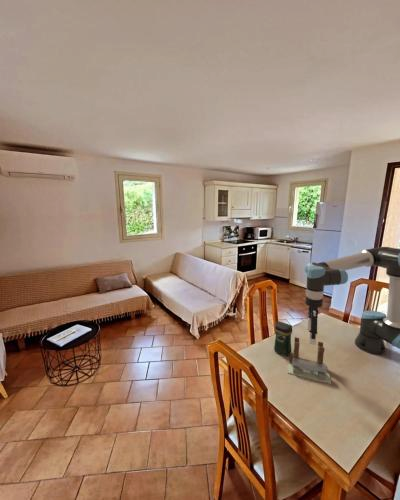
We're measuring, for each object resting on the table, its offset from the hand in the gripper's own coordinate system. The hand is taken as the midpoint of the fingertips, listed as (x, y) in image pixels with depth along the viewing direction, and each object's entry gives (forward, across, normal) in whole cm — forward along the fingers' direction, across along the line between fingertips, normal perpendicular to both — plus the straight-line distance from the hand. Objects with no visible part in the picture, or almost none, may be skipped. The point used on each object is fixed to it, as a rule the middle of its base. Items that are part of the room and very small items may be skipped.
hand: (311, 336), depth 113 cm
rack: (+22, -8, 0) cm, 23 cm away
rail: (+18, 0, 0) cm, 18 cm away
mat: (+22, 0, 0) cm, 22 cm away
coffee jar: (+22, -15, -14) cm, 29 cm away
